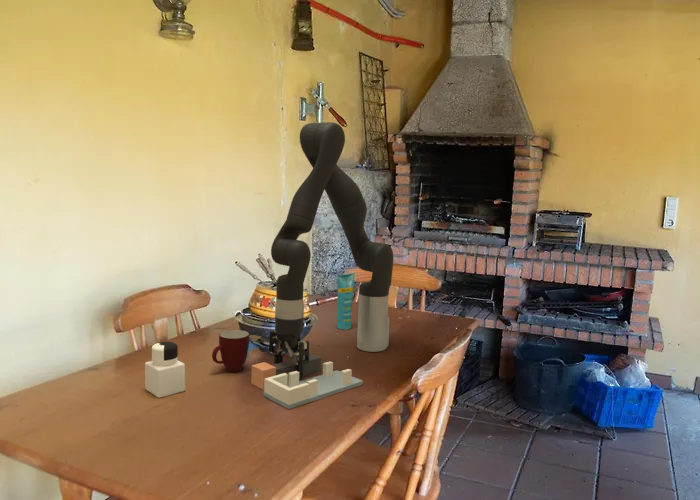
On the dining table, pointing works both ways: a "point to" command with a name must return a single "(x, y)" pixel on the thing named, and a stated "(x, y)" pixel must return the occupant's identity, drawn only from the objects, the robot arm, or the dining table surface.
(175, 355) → the medicine bottle
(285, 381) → the clip
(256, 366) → the bar
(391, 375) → the dining table surface
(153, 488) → the dining table surface
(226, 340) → the mug
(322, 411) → the dining table surface
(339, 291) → the tube
